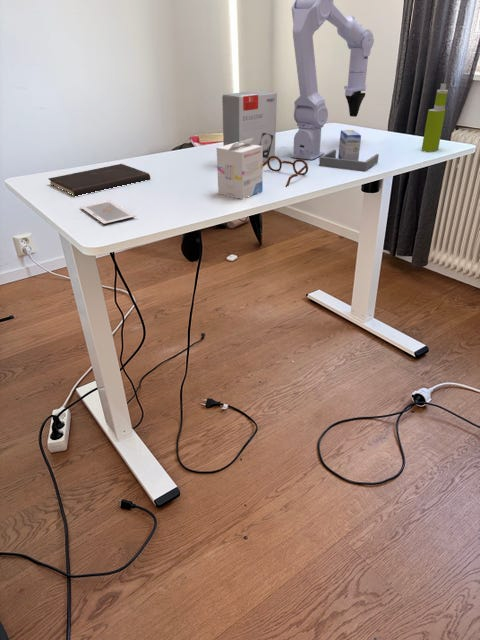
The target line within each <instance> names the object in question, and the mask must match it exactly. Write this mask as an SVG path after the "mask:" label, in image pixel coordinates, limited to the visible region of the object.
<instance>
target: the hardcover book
mask: <svg viewBox="0 0 480 640" xmlns="http://www.w3.org/2000/svg"><path fill="white" fill-rule="evenodd" d="M145 180H147V181H151V174H150V172H146V171H143V170H141V169H137V168H135V167H132V166H129V165H126V164H124V163H119V164H113V165H109V166H108V165H107V166H103V167H98V168H94V169H89V170H83V171H79V172H78V171H77V172H74V173H70V174H69V173H68V174H63V175H58V176H55V177H54V176H53V177H48V181H50V185H51V184H52V185H54V186H56V187H59V188H61V189H63V190H65V191H67V192H69V193H71V194H73V195H74V196H78V195H82V194H86V193H91V192H95V191H100V190H104V189H109V188H113V187H117V186H121V187H123V186H122V185H126V186H128V185H127V184H130V185H132V184H131V183H134V184H137V183H136V182H139V183H142V182H141V181H143V182H146V181H145ZM52 185H51V186H52ZM54 186H53V187H54ZM56 187H55V188H56ZM117 188H118V187H117ZM113 189H114V188H113ZM109 190H110V189H109ZM104 191H105V190H104ZM100 192H101V191H100ZM91 194H92V193H91ZM74 196H73V197H74ZM78 197H79V196H78Z"/></svg>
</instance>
